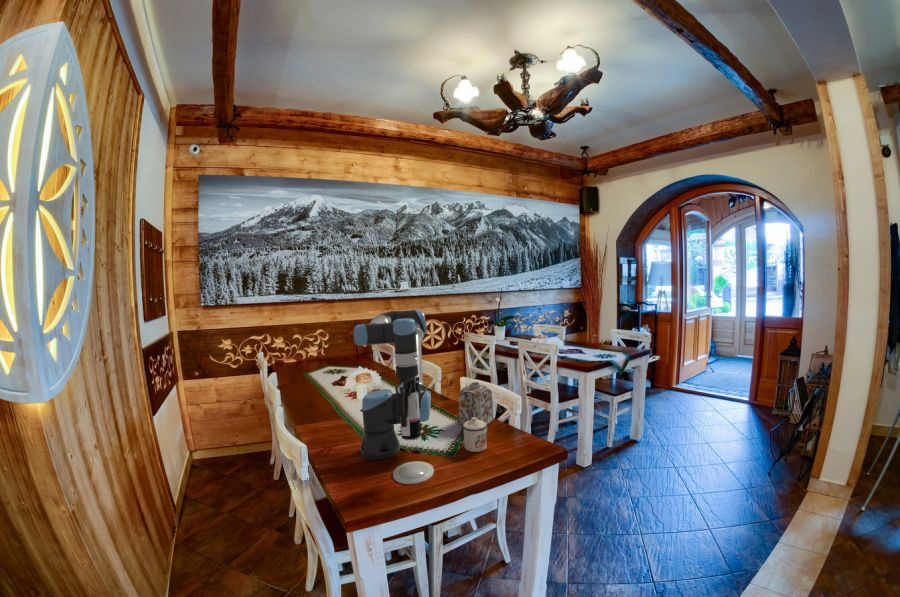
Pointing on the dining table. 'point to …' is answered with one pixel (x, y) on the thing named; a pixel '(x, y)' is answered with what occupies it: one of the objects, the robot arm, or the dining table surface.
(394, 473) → the plate
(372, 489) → the dining table surface
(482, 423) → the teacup with lid
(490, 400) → the decorative jar
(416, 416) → the beverage can
